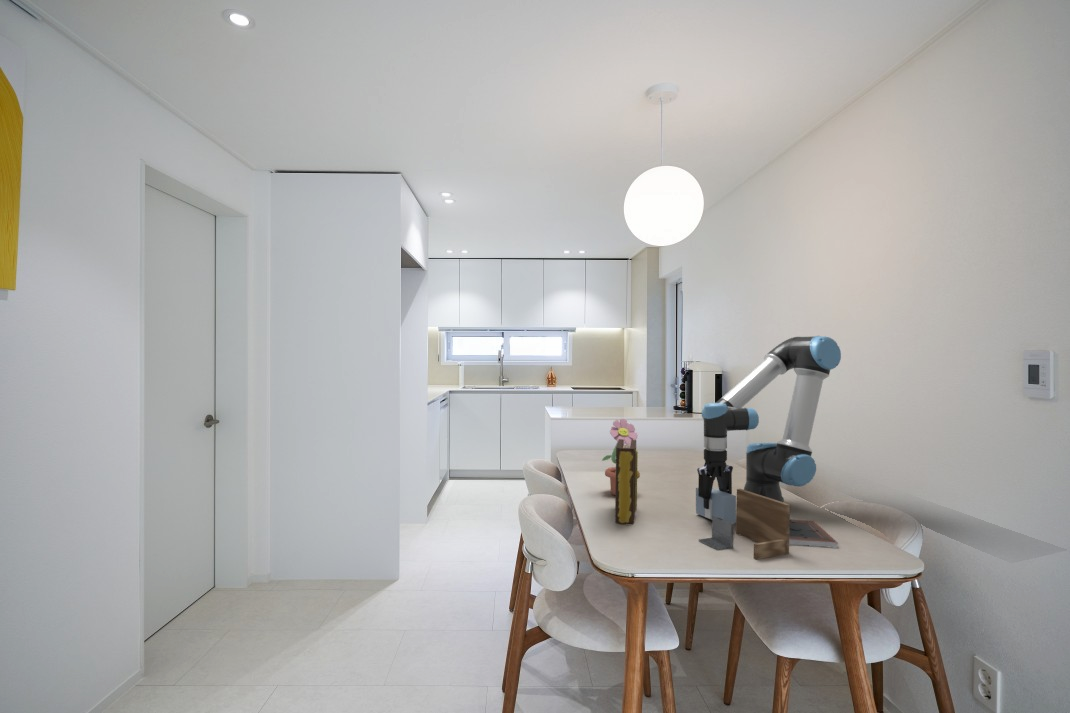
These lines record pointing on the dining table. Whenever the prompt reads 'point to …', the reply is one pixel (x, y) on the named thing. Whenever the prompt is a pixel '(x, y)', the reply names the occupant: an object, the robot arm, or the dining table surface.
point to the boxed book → (719, 505)
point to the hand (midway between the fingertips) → (715, 516)
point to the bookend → (720, 534)
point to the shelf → (763, 523)
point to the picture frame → (809, 534)
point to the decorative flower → (620, 432)
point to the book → (626, 482)
